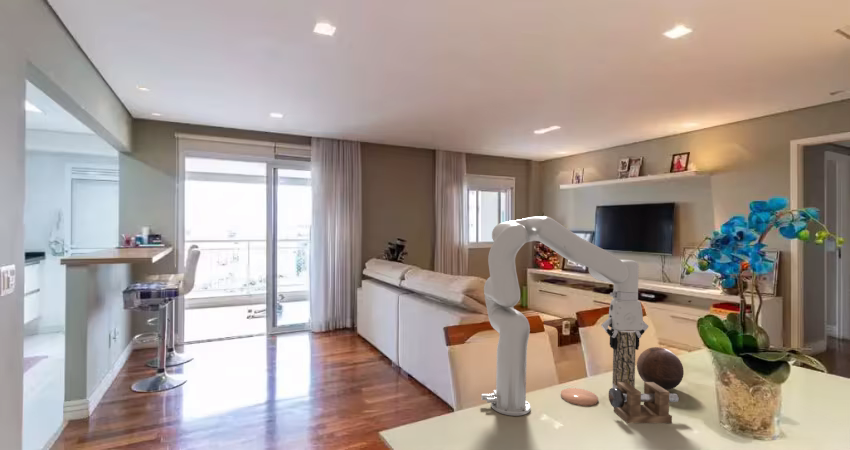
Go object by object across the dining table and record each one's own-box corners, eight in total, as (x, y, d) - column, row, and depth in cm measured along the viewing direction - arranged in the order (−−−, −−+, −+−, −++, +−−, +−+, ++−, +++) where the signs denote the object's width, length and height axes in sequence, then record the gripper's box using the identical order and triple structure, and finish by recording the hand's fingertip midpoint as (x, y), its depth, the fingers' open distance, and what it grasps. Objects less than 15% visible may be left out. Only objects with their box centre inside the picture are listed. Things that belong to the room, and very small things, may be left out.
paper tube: (636, 407, 136) (638, 331, 136) (614, 404, 137) (616, 330, 137) (630, 398, 143) (632, 326, 142) (609, 396, 144) (611, 325, 144)
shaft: (617, 410, 126) (618, 392, 126) (608, 402, 131) (608, 385, 131) (682, 410, 127) (682, 392, 127) (670, 402, 132) (670, 385, 132)
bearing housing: (627, 423, 125) (628, 392, 125) (613, 411, 133) (614, 382, 132) (671, 422, 125) (672, 392, 125) (655, 410, 133) (656, 381, 133)
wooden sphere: (693, 396, 146) (694, 354, 146) (655, 398, 144) (656, 355, 144) (662, 380, 161) (663, 341, 161) (627, 381, 158) (628, 342, 158)
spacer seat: (569, 405, 136) (569, 402, 136) (555, 390, 148) (555, 388, 148) (604, 405, 136) (604, 402, 136) (588, 390, 148) (588, 388, 148)
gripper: (606, 297, 136) (605, 351, 136) (657, 298, 137) (655, 352, 137) (595, 294, 143) (594, 345, 143) (643, 294, 144) (642, 345, 144)
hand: (624, 348), depth 140 cm, fingers closed on paper tube, 6 cm apart
